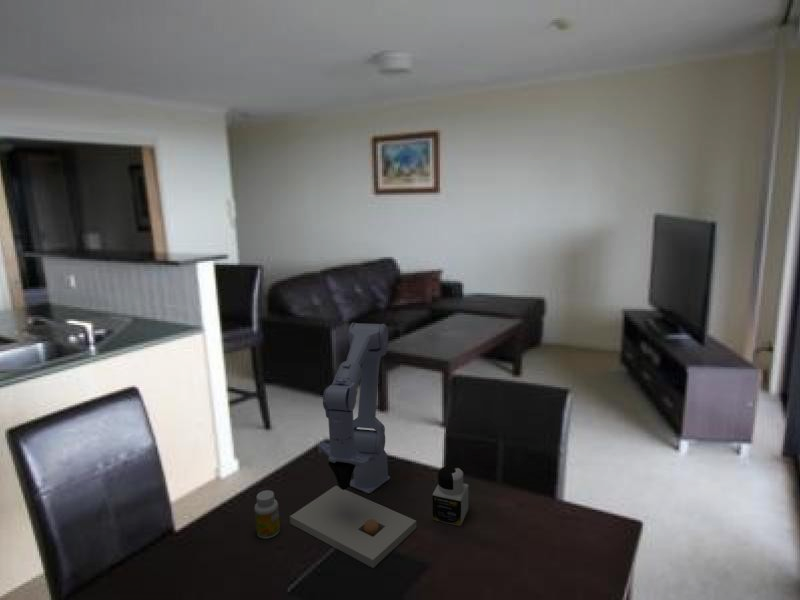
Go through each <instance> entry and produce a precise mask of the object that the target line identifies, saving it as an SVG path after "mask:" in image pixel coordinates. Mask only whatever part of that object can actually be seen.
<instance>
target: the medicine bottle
mask: <svg viewBox="0 0 800 600" xmlns="http://www.w3.org/2000/svg"><path fill="white" fill-rule="evenodd" d="M468 512H469V484H468V483H464V471H462V470H461V468H459V467H457V466H452V465H449V466H448V465H447V466H444V467H441V468H440V469H439V470H438V472H437V486H436V487H435V490H434V491H433V493H432V520H433V521H436V522H440V523H445V524H449V525H454V526H459V527H462V524H463V522H464V520H465V518H466V516H467V513H468Z"/></svg>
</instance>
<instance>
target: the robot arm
mask: <svg viewBox="0 0 800 600" xmlns="http://www.w3.org/2000/svg"><path fill="white" fill-rule="evenodd" d="M388 329H389V328H388V326H387V325H386V323H357V322H351V323H350V325H349V327H348V330H347V341H348V343H349V351H348V354H347V358H346V359H345V360H346V361H343V362H342V363H340V364H339V367H338V369H337V372H336V373H335V375H334V379H333V380H332V381H333V382H332V383H331V384H330V385H329V386H326V387H325V389H324V391H323V394H322V395H323V396H322V397H323V398H322V405H323V409H324V411H325V417H326V418H327V419H328V431H329V432H328V435H329V442H325V441H323V442H320V443H319V444H318V445H317V452H318V453H319V454H323V453H324V454H325V455H327V457H328V466H329V468H330V469H331V471H332V472H333V474H334V476H335V478H336V481H337V484H338V487H340V489H342V490H347V489H348V488H349V487H351V488H354V489H355V490H356V489H357V490H359V491H360V492H363V493H365V494H367V495H370V494H371V493H373V492H374V491H375V490H377V489H378V488H379V487H381V486H382V485H383V484H384V483H386V482H387V481H389V480H390V479H391V476H390V475H389V470H388V469H389V467H388V454H387V452H386V450H385V446H386V428H385V425H384V424H383V423H382V421H381V420H379V419H378V417H376V415H377V400H378V387H379V376H380V375H379V372H380V363H381V359H382V358H381V357H384V356H386V355H387V351H388V347H389V345H388V344H389V330H388ZM359 383H360V386H359ZM358 386H359V401H358V411H357V416H356V418H354V409H355V407H356V404H357V403H356V402H357V395H358V389H357V388H358ZM352 475H353V478H352Z"/></svg>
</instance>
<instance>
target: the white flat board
mask: <svg viewBox="0 0 800 600" xmlns="http://www.w3.org/2000/svg"><path fill="white" fill-rule="evenodd" d="M371 519H372V520H375V521H376V522H377V523H378V525H379V530H378V532H377V534H375V535H373V536H370V535H368V534H366V533H365V531H364V524H365V523H366V521H368V520H371ZM289 522H290V523H289V524H290V525H293V526H294V527H296V528H298V529H299V530H301V531H303V532H305V533H307V534H308V535H311V536H312V537H314V538H317V539H318V540H319V541H322V542H323V543H326V544H328V545H329V546H331V547H333V548H335V549H337V550H338V551H340V552H342V553H344V554H346V555H347V556H349V557H351V558H353V559H355V560H357V561H359V562H361V563H362V564H365V565H366V566H368V567H370V568H371V569H374V568H376V566H377V565H379V563H381V561H383V560H384V559H385V558H386V557H387V556H388V555H390V554H391V553H392V551H394V550H395V549H396V548H397V547H398V546H399V545H400V544H401V543H402V542H403V541H404V540H406V538H408V537H409V536H410V535H411V534H412V533H414V531H415V530H416V529H417V520H415V519H413V518H412V517H409V516H406V515H404V514H402V513H399V512H397V511H395V510H392V509H391V508H388V507H386V506H384V505H381V504H379V503H377V502H374V501H372V500H370V499H368V498H366V497H363V496H360V495H359V494H356V493H354V492H352V491H349V490H347V489H345V490H342V489H340V487H339V485H338V486H337V485H334V486H333V487H331V488H330V489H328V490H327V491H325V492H324V493H322V494H321V495H320V496H318V497H316V498H315V499H314V500H312V501H311V502H308V503H307V504H306V505H304V506H303V507H301V508H300V509H298V510H297V511H296V512H294V513H293V514H291V515H289Z"/></svg>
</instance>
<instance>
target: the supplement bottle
mask: <svg viewBox="0 0 800 600" xmlns="http://www.w3.org/2000/svg"><path fill="white" fill-rule="evenodd" d="M254 516H255V517H254V518H255V529H256V535H257V537H258V538H260V539H271V538H274V537H275V536H277V535H278V534H279V533H280V530H281V525H280V513H279V502H278V501H277V499H275V493H274V491H273V490H270V489H269V490H262V491H260V492H258V493H257V495H256V503H255V505H254Z"/></svg>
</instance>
